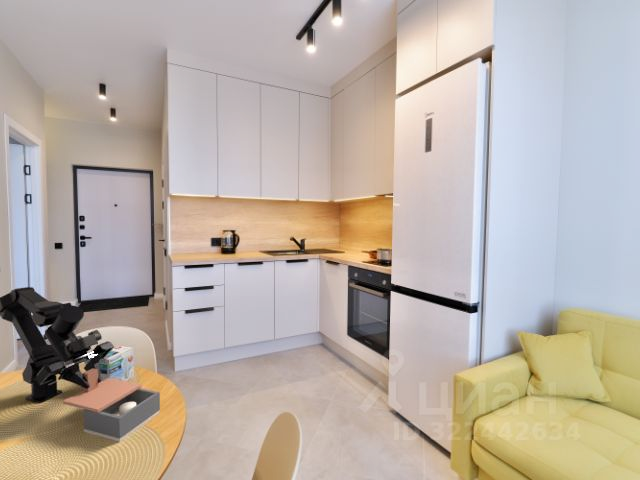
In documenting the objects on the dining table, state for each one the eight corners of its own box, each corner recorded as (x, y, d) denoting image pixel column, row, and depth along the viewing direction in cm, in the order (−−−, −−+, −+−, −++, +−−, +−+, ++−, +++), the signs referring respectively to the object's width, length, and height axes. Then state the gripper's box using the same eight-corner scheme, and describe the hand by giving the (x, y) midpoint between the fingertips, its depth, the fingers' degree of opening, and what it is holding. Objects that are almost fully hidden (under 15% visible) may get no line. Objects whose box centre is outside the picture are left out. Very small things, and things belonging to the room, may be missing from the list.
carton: (84, 431, 84) (83, 409, 84) (127, 404, 97) (126, 385, 96) (119, 441, 81) (119, 418, 80) (159, 412, 93) (159, 392, 93)
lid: (62, 403, 86) (62, 381, 85) (109, 380, 99) (108, 360, 98) (98, 412, 82) (97, 389, 82) (141, 387, 95) (141, 367, 95)
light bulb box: (109, 392, 103) (108, 359, 103) (91, 390, 105) (91, 357, 104) (135, 377, 114) (134, 347, 113) (118, 374, 115) (118, 345, 114)
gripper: (42, 335, 83) (74, 384, 80) (109, 315, 101) (137, 355, 98) (22, 360, 86) (53, 409, 83) (90, 337, 104) (117, 376, 101)
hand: (94, 384), depth 91 cm, fingers closed on lid, 3 cm apart
